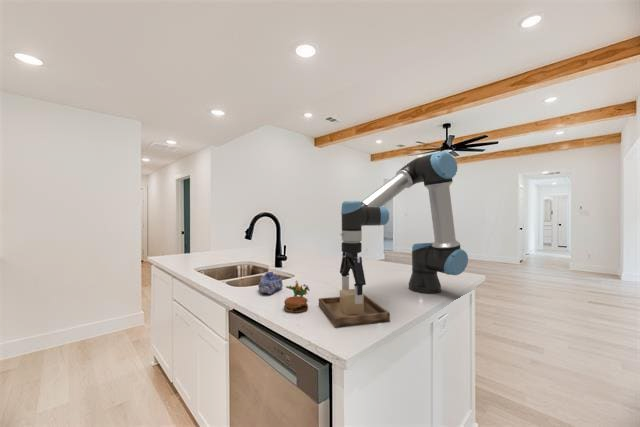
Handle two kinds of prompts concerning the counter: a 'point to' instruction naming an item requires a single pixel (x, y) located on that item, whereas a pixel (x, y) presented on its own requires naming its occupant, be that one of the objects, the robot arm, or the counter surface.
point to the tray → (340, 319)
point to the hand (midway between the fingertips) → (351, 297)
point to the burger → (295, 304)
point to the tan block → (350, 302)
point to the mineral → (270, 283)
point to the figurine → (299, 289)
